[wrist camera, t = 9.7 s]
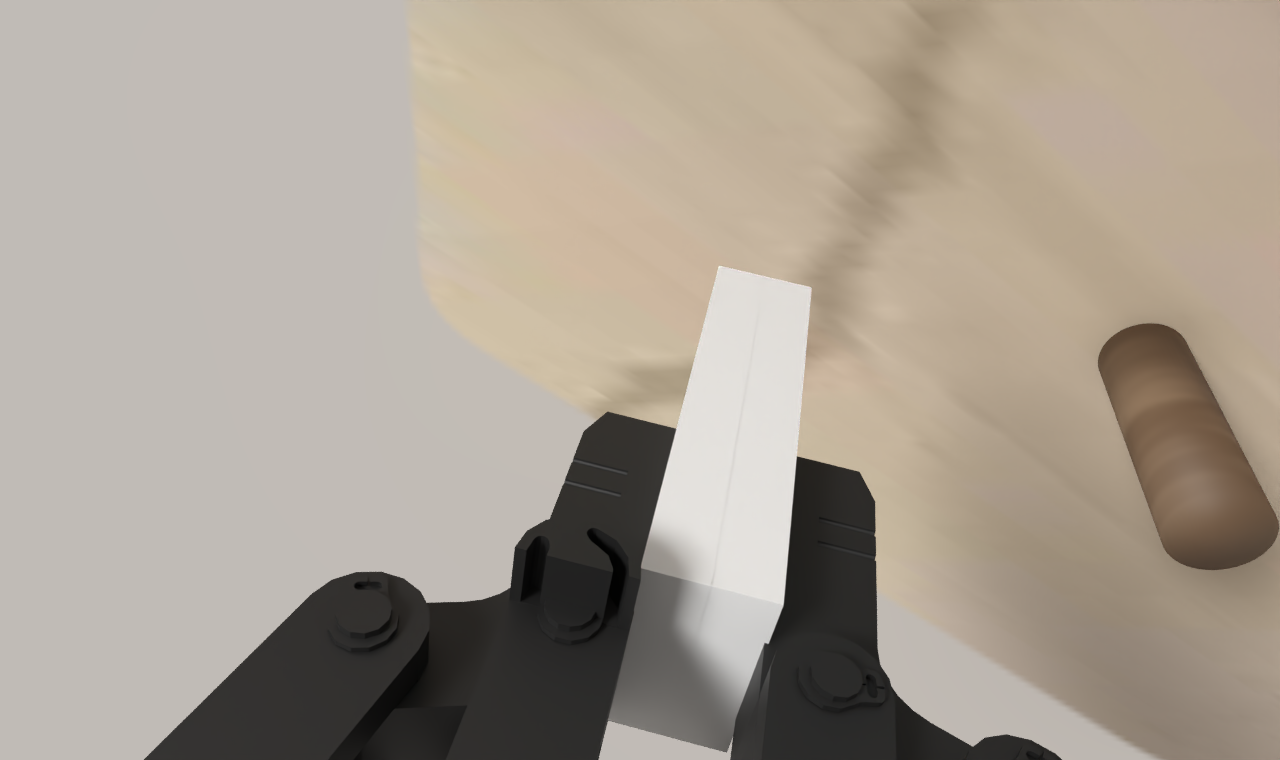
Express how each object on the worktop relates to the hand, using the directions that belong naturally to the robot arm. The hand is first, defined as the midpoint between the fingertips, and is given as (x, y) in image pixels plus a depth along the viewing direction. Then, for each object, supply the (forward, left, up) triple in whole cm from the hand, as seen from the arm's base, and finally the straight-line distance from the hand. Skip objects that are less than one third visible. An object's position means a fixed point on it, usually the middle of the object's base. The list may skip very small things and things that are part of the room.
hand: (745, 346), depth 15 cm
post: (-13, +6, -14) cm, 20 cm away
